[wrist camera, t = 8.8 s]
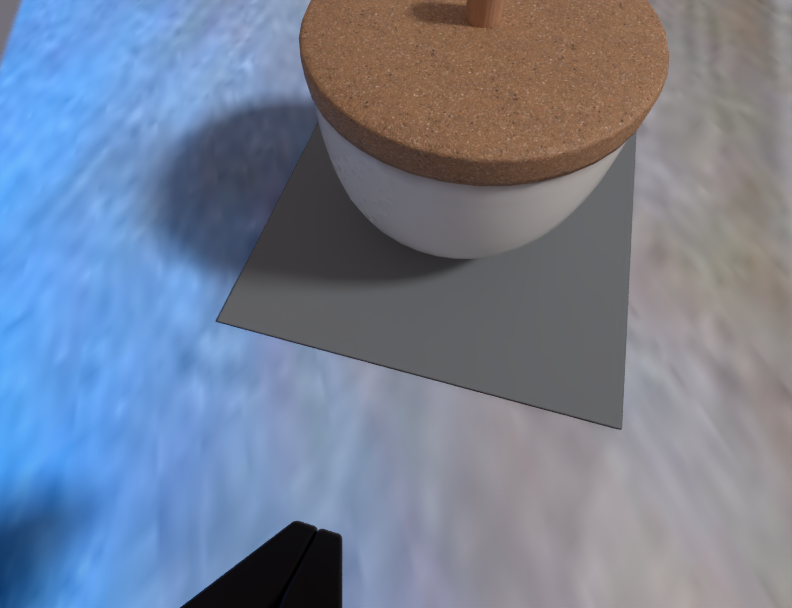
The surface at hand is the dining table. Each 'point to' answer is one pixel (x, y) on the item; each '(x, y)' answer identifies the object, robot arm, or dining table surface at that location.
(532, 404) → the placemat
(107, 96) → the dining table surface
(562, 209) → the lidded bowl
